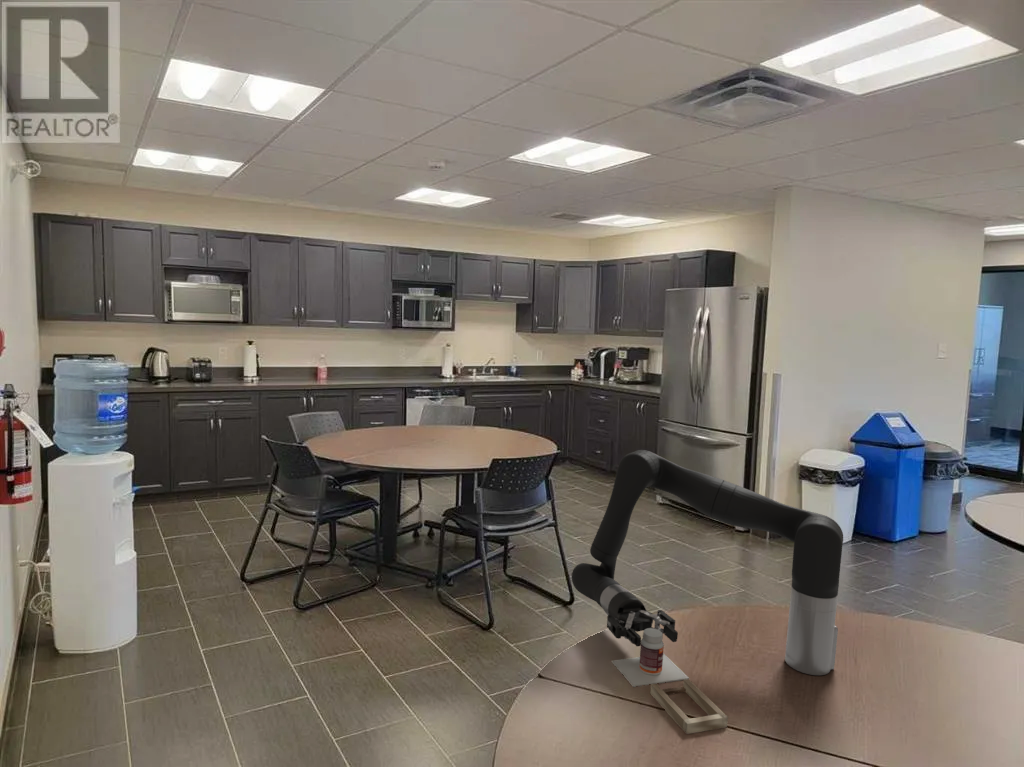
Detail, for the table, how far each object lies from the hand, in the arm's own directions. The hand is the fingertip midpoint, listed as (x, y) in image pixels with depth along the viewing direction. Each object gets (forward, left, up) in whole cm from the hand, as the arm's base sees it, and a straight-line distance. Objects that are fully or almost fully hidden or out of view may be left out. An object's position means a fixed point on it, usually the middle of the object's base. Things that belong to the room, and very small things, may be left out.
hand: (657, 639), depth 136 cm
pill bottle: (0, -2, -8) cm, 8 cm away
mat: (0, -2, -8) cm, 8 cm away
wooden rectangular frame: (0, +12, -8) cm, 15 cm away
